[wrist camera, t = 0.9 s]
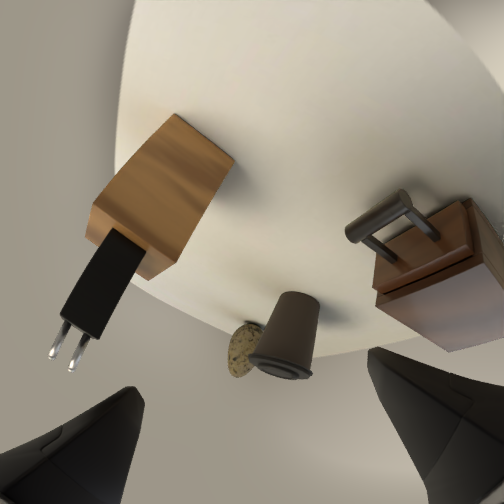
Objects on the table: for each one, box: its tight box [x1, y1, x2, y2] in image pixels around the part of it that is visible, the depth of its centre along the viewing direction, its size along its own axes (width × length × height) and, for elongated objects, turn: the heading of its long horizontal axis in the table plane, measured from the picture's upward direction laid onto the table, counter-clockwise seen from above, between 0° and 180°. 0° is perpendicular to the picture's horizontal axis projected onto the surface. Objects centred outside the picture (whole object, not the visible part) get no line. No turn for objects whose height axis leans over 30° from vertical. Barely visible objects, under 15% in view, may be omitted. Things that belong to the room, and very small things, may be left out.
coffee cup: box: [248, 292, 320, 380], centre depth 34 cm, size 8×8×10 cm
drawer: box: [345, 189, 474, 294], centre depth 18 cm, size 16×8×4 cm, turn 64°
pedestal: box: [85, 114, 235, 281], centre depth 20 cm, size 6×6×10 cm
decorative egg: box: [228, 324, 263, 378], centre depth 48 cm, size 6×6×10 cm
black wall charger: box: [48, 228, 146, 373], centre depth 15 cm, size 4×3×9 cm, turn 142°
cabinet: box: [375, 198, 504, 352], centre depth 19 cm, size 13×10×6 cm
